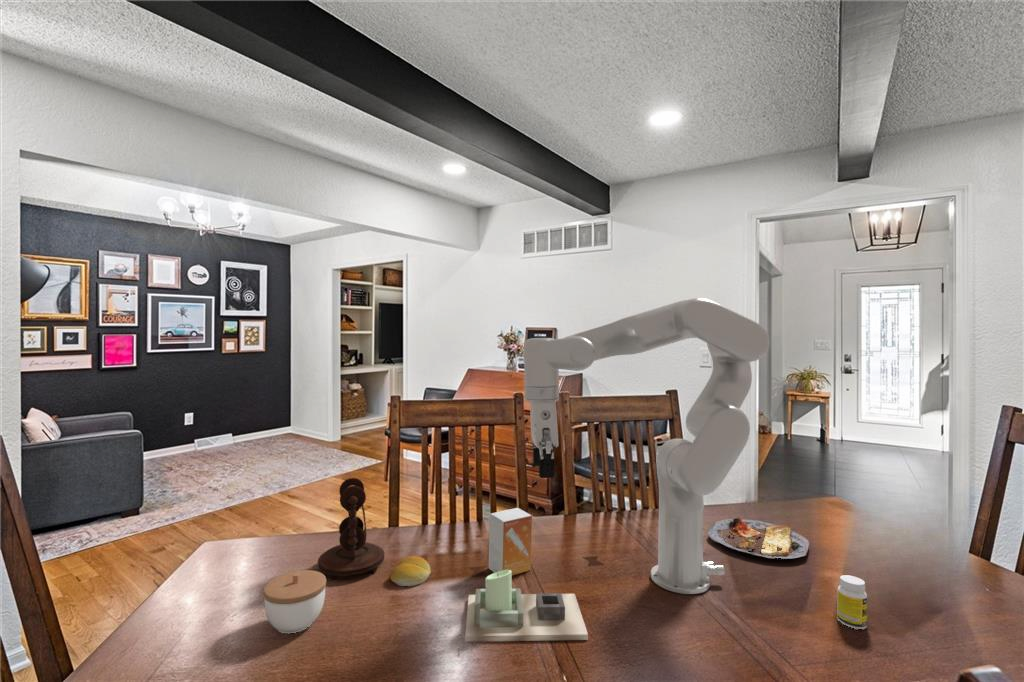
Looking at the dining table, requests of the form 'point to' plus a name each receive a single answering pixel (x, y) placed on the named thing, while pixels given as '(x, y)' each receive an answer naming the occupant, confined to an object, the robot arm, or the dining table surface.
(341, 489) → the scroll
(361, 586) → the dining table surface
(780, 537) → the food plate
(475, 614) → the holder board
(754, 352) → the robot arm
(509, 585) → the candle
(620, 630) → the dining table surface
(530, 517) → the small box
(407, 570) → the bread roll
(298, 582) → the lidded jar
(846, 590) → the supplement bottle
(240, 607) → the dining table surface
